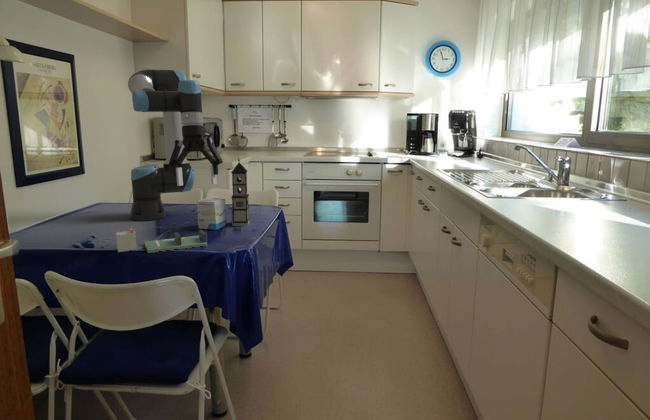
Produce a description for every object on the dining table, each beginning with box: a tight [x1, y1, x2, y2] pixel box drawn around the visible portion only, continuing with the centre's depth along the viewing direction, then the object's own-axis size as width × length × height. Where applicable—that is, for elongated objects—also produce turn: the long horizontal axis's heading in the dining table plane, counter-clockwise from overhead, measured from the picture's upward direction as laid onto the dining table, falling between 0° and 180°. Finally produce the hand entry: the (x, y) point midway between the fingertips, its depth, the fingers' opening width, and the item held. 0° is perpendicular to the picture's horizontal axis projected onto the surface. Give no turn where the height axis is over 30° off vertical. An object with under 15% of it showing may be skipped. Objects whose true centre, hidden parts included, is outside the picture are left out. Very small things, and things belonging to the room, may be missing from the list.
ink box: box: [196, 197, 227, 231], centre depth 189 cm, size 9×8×12 cm
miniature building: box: [230, 158, 250, 227], centre depth 192 cm, size 7×7×30 cm
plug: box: [115, 228, 138, 253], centre depth 158 cm, size 4×6×7 cm, turn 117°
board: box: [143, 229, 209, 254], centre depth 164 cm, size 12×20×4 cm, turn 117°
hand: (197, 185), depth 165 cm, fingers open, 13 cm apart
